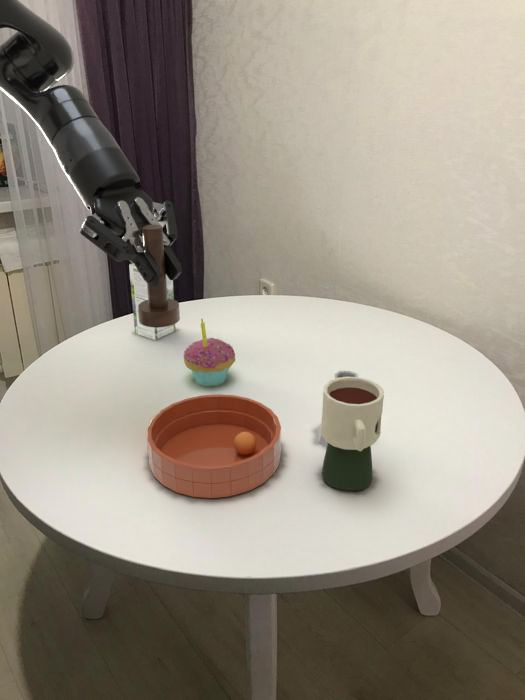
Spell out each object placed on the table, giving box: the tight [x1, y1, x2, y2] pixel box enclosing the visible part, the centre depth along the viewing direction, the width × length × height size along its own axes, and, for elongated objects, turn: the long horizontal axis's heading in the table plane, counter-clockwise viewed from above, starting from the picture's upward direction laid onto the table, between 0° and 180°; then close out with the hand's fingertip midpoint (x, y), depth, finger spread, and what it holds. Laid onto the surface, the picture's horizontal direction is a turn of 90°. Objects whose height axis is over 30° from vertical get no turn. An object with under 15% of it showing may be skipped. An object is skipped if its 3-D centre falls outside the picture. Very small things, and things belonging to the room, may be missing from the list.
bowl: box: [146, 393, 282, 499], centre depth 77 cm, size 17×17×5 cm
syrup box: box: [128, 263, 176, 341], centre depth 112 cm, size 6×6×14 cm
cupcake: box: [183, 318, 236, 387], centre depth 96 cm, size 9×8×12 cm
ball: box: [234, 432, 256, 455], centre depth 78 cm, size 3×3×3 cm
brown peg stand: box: [138, 225, 181, 327], centre depth 73 cm, size 5×5×12 cm
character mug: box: [321, 376, 385, 491], centre depth 72 cm, size 11×7×13 cm, turn 4°
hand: (167, 278), depth 72 cm, fingers closed on brown peg stand, 2 cm apart
